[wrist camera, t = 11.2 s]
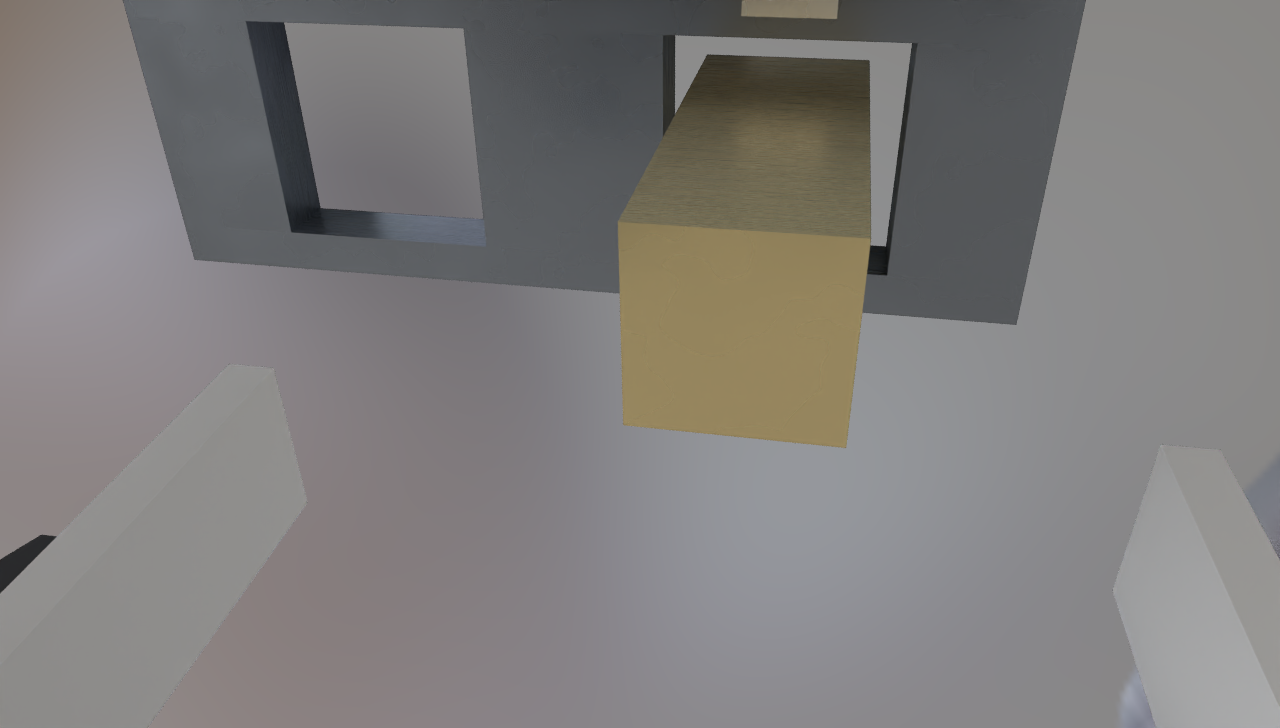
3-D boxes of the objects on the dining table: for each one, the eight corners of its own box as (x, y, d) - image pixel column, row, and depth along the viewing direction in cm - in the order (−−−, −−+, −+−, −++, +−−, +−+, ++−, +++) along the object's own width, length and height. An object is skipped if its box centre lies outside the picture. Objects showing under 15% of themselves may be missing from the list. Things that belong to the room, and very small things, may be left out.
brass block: (704, 203, 30) (623, 424, 20) (707, 54, 28) (617, 221, 18) (852, 212, 29) (846, 448, 19) (869, 60, 27) (870, 239, 17)
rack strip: (227, 234, 34) (192, 261, 32) (157, -41, 30) (112, -29, 28) (1008, 293, 30) (1016, 326, 28) (1072, -22, 25) (1087, -5, 23)
